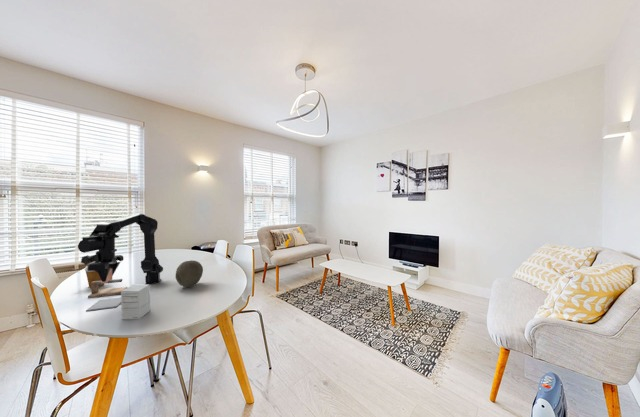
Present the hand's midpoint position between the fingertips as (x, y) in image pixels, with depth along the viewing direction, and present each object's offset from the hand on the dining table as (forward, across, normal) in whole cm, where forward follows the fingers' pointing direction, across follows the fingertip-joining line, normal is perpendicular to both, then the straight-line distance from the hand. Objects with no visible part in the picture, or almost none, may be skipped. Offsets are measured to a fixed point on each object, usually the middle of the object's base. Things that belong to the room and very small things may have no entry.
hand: (107, 279), depth 108 cm
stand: (+12, -15, -6) cm, 20 cm away
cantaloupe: (+12, -13, +33) cm, 38 cm away
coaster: (+12, +1, 0) cm, 12 cm away
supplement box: (+12, +17, +18) cm, 28 cm away
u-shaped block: (+1, 0, 0) cm, 1 cm away
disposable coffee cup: (+12, -30, -18) cm, 37 cm away
